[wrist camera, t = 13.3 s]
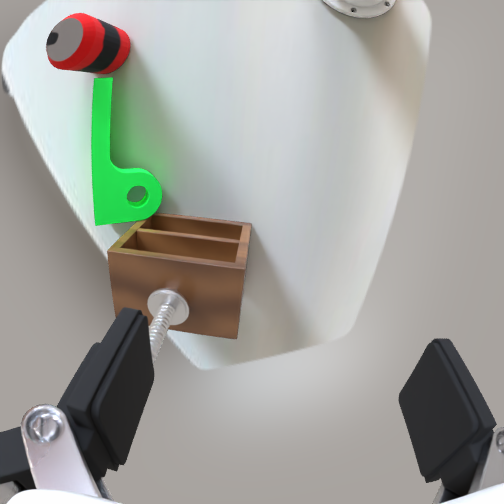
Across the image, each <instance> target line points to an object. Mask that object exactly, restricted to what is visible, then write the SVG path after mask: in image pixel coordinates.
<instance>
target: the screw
mask: <svg viewBox="0 0 504 504" xmlns="http://www.w3.org/2000/svg"><path fill="white" fill-rule="evenodd" d="M147 305H148V309H149V311H150V313H151V314H152V316H153V317H154V319H153V320H152V323H151V324H150V327H149V335H150V344H151V353H152V360H153V363H154V362H155V359H156V358H157V355H158V353H159V350H160V347H161V346H162V343H163V341H164V338H165V335H166V333H167V331H168V328H169V326H170V325H178V324H181V323H183V322H184V321H185V320H186V319H187V317H188V315H189V309H190V308H189V304H188V302H187V300H186V299H185V297H184V296H183V295H181V294H180V293H179V292H178V290H176V289H169V288H160V289H157V290H155V291H154V292H152V293H151V295H150V296H149V298H148V303H147Z"/></svg>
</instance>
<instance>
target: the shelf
mask: <svg viewBox="0 0 504 504" xmlns="http://www.w3.org/2000/svg"><path fill="white" fill-rule="evenodd" d="M251 225H252V224H251V223H243V222H235V221H227V220H218V219H210V218H201V217H192V216H183V215H174V214H164V213H154V214H153V215H152V216H150V217H149V218H147V219H144V220H140V221H137V222H136V223H135V224H134V225H133V226H132V227H131V228H130V229H129V230H128V231H127V232H126V233H125V234H123V235H122V236H121V237H120V238H119V239H118V240H117V241H116V242H115V243H114V244H113V245H112V246H111V247H110V248H109V249H108V250H107V254H108V264H109V273H110V281H111V288H112V296H113V302H114V309H115V316H116V317H117V316H118V314H119V313H120V311H121V310H122V308H124V307H127V308H132V309H137V310H141V311H142V313H143V315H144V316H147V318H148V326H150V324H151V323H152V320H153V319H154V317H153V316H152V314H151V313H150V311H149V309H148V305H147V303H148V298H149V296H150V295H151V293H152V292H154V291H155V290H157V289H160V288H169V289H176V290H178V292H179V293H180V294H181V295H183V296H184V297H185V299H186V300H187V302H188V304H189V308H190V309H189V315H188V317H187V319H186V320H185V321H184V322H183V323H181V324H178V325H170V326H169V328H168V329H170V330H176V331H182V332H188V333H194V334H201V335H208V336H215V337H222V338H230V339H237V335H238V327H239V320H240V312H241V305H242V297H243V290H244V282H245V274H246V266H247V258H248V249H249V241H250V233H251Z"/></svg>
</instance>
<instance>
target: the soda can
mask: <svg viewBox="0 0 504 504" xmlns="http://www.w3.org/2000/svg"><path fill="white" fill-rule="evenodd" d="M46 50H47V55H48V59H49V61H50V63H51V64H52V65H53V66H54V67H56V68H57V69H62V70H72V71H81V72H90V73H97V74H107V73H111V72H113V71H115V70H116V69H118V68H119V67H120V66H121V65H122V64H123V63H124V62H125V60H126V58H127V56H128V54H129V50H130V39H129V37H128V35H127V34H126V32H124V31H123V30H121V29H119V28H117V27H115V26H113V25H110V24H108V23H106V22H103V21H101V20H99V19H96V18H94V17H92V16H89V15H87V14H84V13H76V14H73V15H70V16H68V17H66V18H65V19H63V20H62V21H61V22H59V23H58V24H57V25H56V26H55V27H54V28H53V30H52V31H51V33H50V34H49V37H48V39H47V44H46Z"/></svg>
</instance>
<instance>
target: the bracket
mask: <svg viewBox="0 0 504 504" xmlns="http://www.w3.org/2000/svg"><path fill="white" fill-rule="evenodd" d="M112 84H113V77H110V78H94V86H93V102H92V137H91V150H92V185H93V202H94V216H95V226H97V225H106V224H114V223H123V222H131V221H140V220H144V219H147V218H149V217H150V216H152V215H153V214H154V213H155V212H156V211H157V209H158V208H159V206H160V204H161V200H162V189H161V186H160V184H159V182H158V181H157V179H156V178H155V177H154V176H153V175H152V174H151V173H150V172H148V171H147V170H144V169H140V168H132V169H121V168H118V167H116V166H115V165H114V164H113V163H112V162H111V160H110V119H111V98H112ZM135 186H143V187H145V189H146V193H145V196H144V197H143V199H142V200H140V201H138V202H131V201H129V200H128V199H127V194H128V192H129V190H130V189H131V188H133V187H135Z"/></svg>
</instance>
